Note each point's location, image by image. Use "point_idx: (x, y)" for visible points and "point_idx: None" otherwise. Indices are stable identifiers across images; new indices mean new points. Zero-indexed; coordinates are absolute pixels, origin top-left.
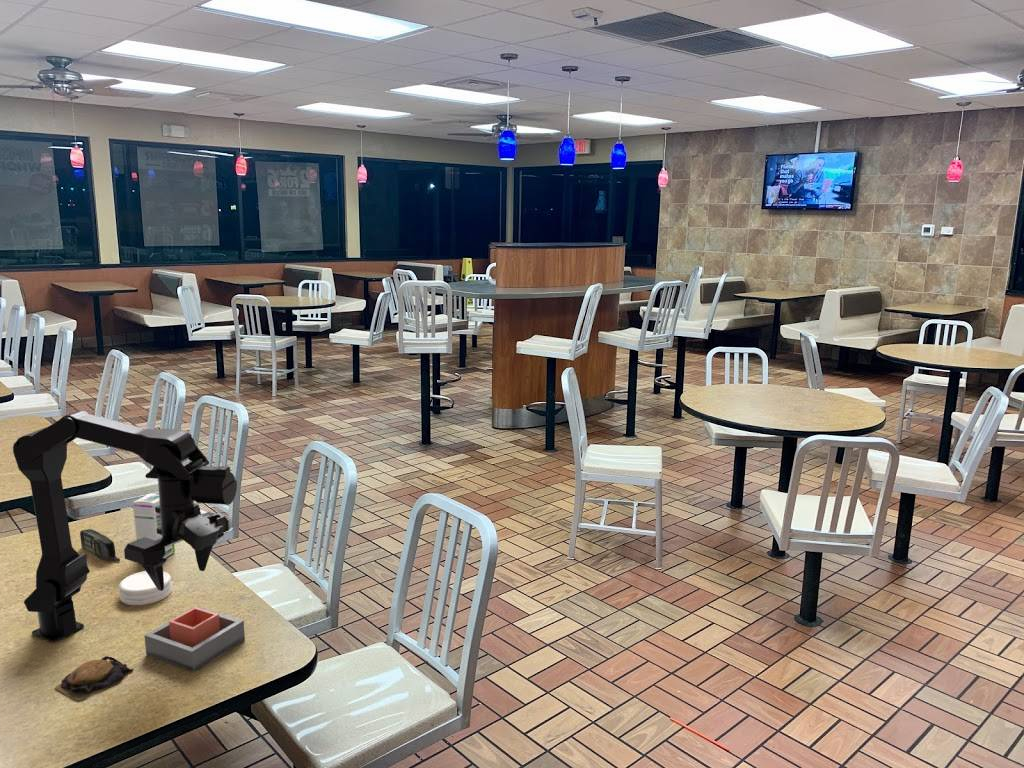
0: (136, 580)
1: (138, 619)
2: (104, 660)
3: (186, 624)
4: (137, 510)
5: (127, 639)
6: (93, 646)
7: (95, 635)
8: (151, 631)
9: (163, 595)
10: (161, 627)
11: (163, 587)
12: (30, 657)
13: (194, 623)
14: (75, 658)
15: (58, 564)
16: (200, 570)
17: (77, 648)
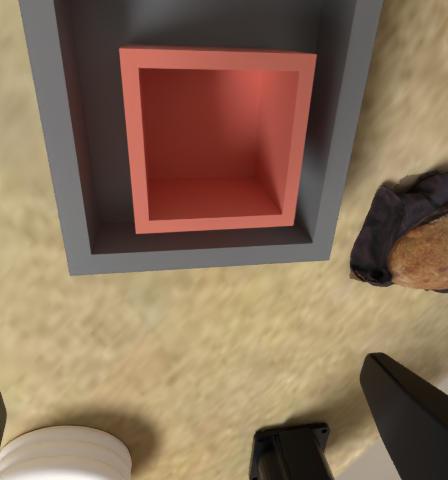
0: None
1: (166, 385)
2: (427, 259)
3: (202, 196)
4: None
5: (254, 328)
6: (310, 358)
7: (270, 392)
8: (301, 260)
9: (46, 436)
10: (266, 254)
11: (385, 364)
12: None
13: (158, 191)
14: (363, 344)
15: None
16: (4, 406)
17: (328, 374)
